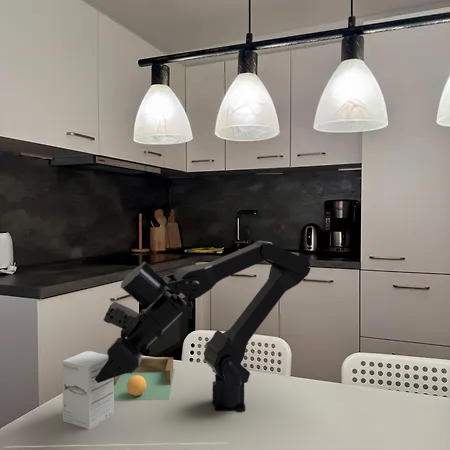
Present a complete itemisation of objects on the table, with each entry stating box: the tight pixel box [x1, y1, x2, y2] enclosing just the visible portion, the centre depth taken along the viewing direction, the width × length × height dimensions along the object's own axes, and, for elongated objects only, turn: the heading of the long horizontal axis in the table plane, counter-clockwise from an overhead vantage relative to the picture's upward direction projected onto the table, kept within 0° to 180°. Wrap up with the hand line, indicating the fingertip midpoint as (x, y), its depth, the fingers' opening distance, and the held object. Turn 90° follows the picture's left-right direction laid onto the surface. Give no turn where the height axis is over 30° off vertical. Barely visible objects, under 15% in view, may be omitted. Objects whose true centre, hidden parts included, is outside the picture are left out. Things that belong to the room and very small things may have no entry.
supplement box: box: [62, 350, 115, 430], centre depth 86 cm, size 7×7×13 cm
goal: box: [114, 356, 174, 385], centre depth 107 cm, size 14×9×4 cm, turn 92°
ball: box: [127, 375, 146, 396], centre depth 97 cm, size 4×4×4 cm
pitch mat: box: [114, 368, 176, 401], centre depth 103 cm, size 14×18×1 cm
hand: (102, 371), depth 86 cm, fingers open, 9 cm apart
